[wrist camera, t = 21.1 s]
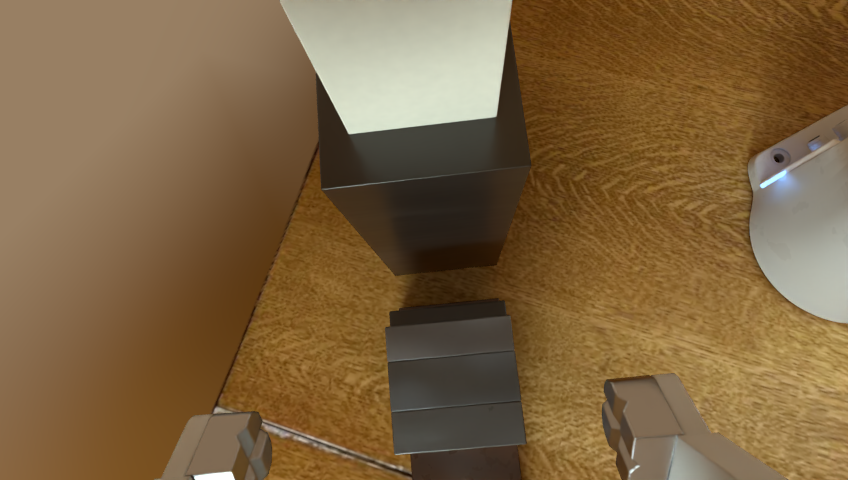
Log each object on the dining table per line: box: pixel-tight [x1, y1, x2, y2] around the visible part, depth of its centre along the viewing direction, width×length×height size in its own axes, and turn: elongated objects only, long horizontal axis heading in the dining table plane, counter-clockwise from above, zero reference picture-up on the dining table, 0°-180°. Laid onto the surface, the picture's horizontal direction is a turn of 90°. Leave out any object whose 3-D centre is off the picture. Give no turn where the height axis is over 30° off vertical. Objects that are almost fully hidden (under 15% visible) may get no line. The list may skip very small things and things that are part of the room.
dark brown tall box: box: [316, 22, 531, 276], centre depth 30 cm, size 18×9×36 cm, turn 5°
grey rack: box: [385, 298, 527, 480], centre depth 37 cm, size 17×8×12 cm, turn 5°
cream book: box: [279, 0, 512, 134], centre depth 17 cm, size 2×6×12 cm, turn 95°
